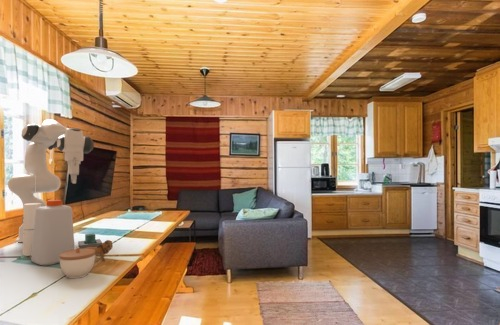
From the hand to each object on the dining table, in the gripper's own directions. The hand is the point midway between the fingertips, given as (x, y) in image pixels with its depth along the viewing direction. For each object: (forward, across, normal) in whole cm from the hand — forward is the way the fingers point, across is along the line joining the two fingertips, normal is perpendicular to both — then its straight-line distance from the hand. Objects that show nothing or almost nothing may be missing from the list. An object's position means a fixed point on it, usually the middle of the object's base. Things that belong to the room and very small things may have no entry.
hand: (73, 183), depth 165 cm
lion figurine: (+35, -33, -8) cm, 49 cm away
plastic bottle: (+35, -22, +9) cm, 42 cm away
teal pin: (+34, -15, -7) cm, 38 cm away
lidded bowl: (+35, -50, +1) cm, 61 cm away
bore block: (+35, -15, -7) cm, 39 cm away
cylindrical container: (+35, -3, +18) cm, 40 cm away
